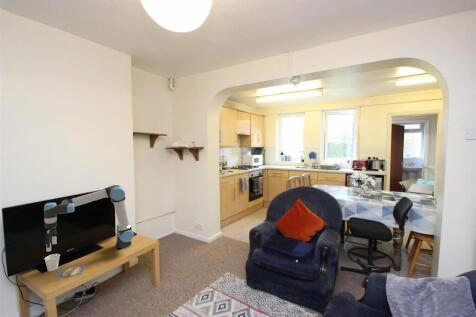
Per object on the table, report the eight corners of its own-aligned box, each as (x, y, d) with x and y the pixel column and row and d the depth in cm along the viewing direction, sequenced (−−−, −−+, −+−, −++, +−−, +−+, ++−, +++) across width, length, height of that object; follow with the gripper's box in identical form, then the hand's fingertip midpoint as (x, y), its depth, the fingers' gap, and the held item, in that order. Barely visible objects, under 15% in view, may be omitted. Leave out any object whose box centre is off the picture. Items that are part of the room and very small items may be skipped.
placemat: (85, 264, 192) (85, 264, 192) (81, 275, 178) (81, 274, 178) (59, 269, 184) (59, 269, 184) (53, 280, 170) (53, 280, 170)
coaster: (82, 266, 189) (82, 265, 189) (79, 274, 177) (79, 273, 177) (64, 269, 184) (63, 269, 184) (59, 278, 172) (59, 277, 172)
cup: (47, 274, 177) (47, 261, 177) (42, 270, 183) (42, 257, 182) (62, 268, 186) (62, 256, 185) (57, 265, 191) (57, 252, 190)
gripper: (50, 217, 191) (51, 242, 193) (38, 228, 169) (40, 255, 170) (61, 216, 194) (61, 240, 196) (51, 226, 172) (52, 253, 173)
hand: (51, 247), depth 183 cm, fingers open, 13 cm apart
